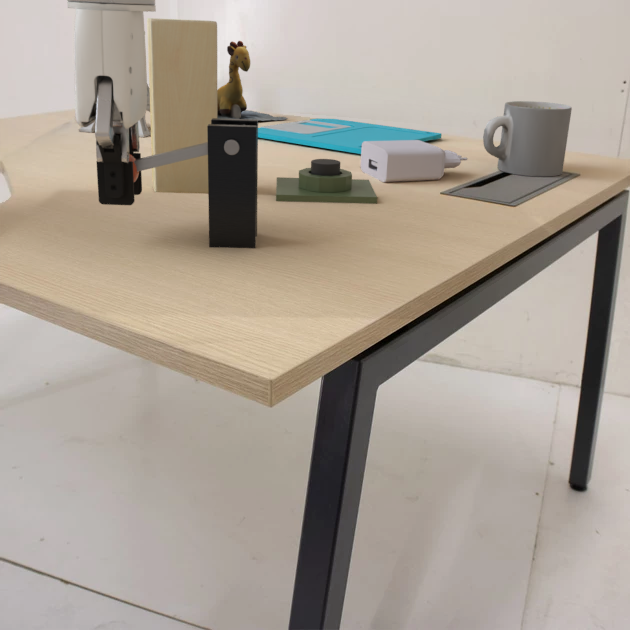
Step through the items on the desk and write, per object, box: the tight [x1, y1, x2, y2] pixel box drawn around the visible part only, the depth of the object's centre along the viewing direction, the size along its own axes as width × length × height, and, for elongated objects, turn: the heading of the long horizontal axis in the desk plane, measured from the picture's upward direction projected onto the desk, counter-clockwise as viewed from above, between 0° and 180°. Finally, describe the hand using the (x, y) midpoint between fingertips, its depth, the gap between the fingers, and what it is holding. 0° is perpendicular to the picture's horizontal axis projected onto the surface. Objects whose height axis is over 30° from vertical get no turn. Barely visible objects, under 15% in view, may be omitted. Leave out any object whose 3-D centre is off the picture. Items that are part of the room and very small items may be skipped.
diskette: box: [258, 118, 442, 155], centre depth 149 cm, size 26×28×1 cm
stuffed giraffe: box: [217, 40, 289, 122], centre depth 168 cm, size 16×18×16 cm
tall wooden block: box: [146, 17, 218, 195], centre depth 100 cm, size 8×7×21 cm
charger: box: [360, 140, 468, 183], centre depth 118 cm, size 5×9×15 cm
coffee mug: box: [482, 100, 573, 178], centre depth 123 cm, size 13×10×10 cm
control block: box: [275, 167, 378, 205], centre depth 99 cm, size 12×10×4 cm
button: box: [310, 158, 341, 176], centre depth 98 cm, size 4×4×2 cm
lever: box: [129, 124, 245, 182], centre depth 75 cm, size 14×3×3 cm, turn 92°
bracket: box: [207, 118, 259, 249], centre depth 76 cm, size 12×9×13 cm
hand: (121, 196), depth 76 cm, fingers closed on lever, 3 cm apart
